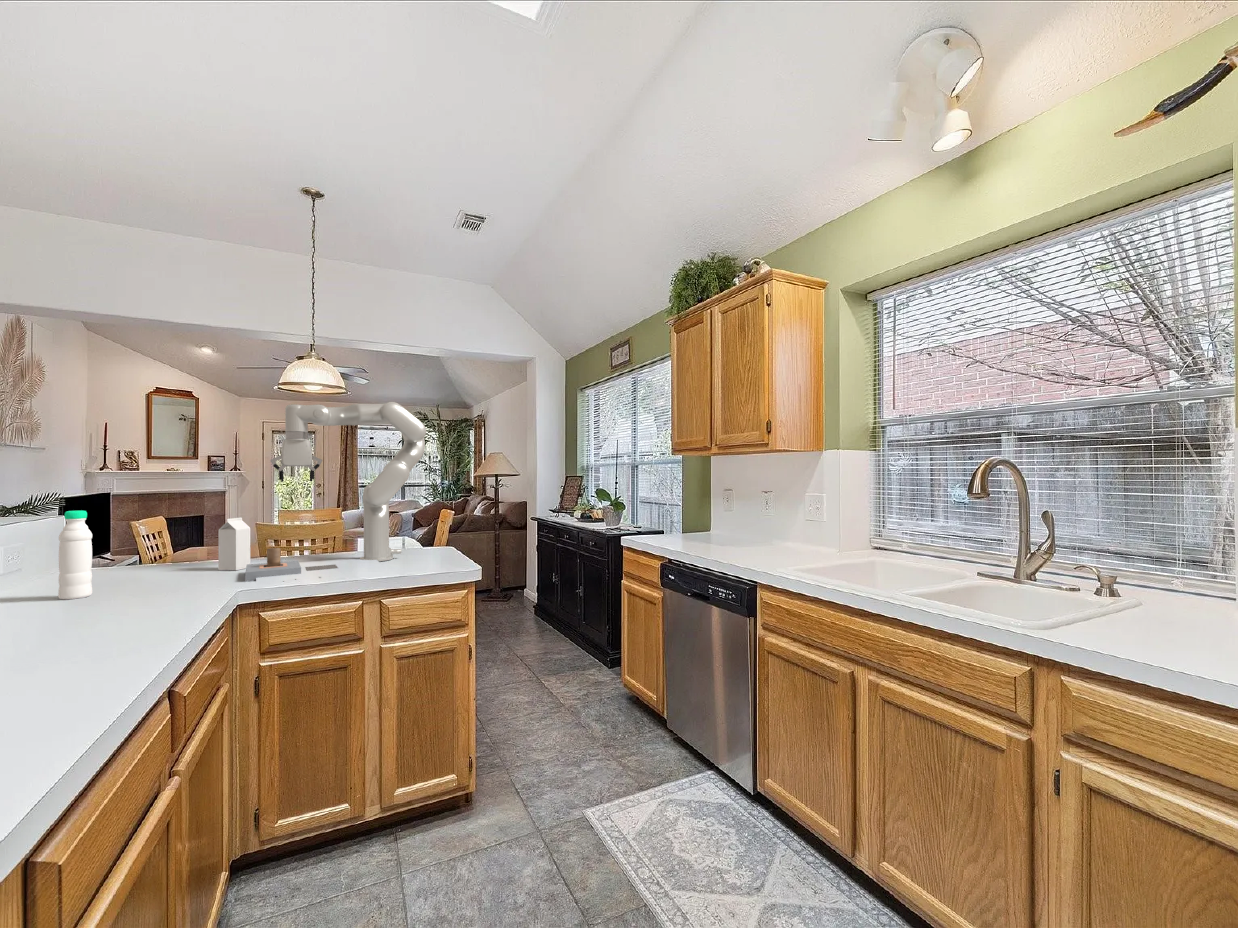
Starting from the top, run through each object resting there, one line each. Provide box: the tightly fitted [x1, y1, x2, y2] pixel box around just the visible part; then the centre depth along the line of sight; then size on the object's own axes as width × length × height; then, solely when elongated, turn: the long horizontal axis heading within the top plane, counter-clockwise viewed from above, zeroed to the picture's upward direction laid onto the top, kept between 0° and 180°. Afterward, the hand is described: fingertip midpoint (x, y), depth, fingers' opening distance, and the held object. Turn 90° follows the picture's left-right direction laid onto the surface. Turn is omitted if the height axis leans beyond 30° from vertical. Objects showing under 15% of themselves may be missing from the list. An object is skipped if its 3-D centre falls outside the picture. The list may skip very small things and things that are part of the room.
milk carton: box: [217, 517, 251, 571], centre depth 212 cm, size 7×7×19 cm
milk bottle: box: [57, 510, 93, 601], centre depth 164 cm, size 7×7×25 cm
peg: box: [266, 547, 282, 567], centre depth 199 cm, size 4×4×9 cm
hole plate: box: [244, 560, 302, 582], centre depth 199 cm, size 16×20×3 cm
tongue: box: [304, 564, 339, 572], centre depth 207 cm, size 10×10×1 cm
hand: (296, 481), depth 218 cm, fingers open, 9 cm apart
